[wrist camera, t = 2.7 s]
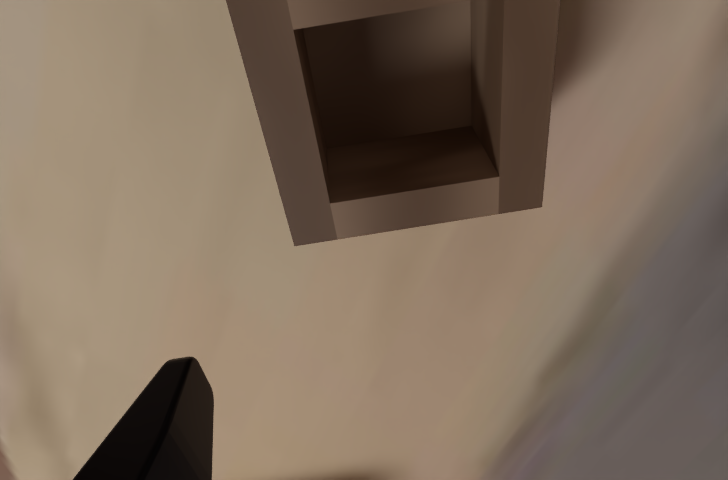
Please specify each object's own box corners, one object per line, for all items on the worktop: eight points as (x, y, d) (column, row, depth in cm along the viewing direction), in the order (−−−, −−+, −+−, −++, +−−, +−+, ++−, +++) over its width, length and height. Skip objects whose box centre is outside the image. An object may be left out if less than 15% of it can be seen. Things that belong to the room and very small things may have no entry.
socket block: (513, -101, 15) (567, -82, 12) (505, 147, 20) (542, 207, 17) (237, -55, 15) (219, -23, 12) (296, 180, 20) (294, 246, 17)
